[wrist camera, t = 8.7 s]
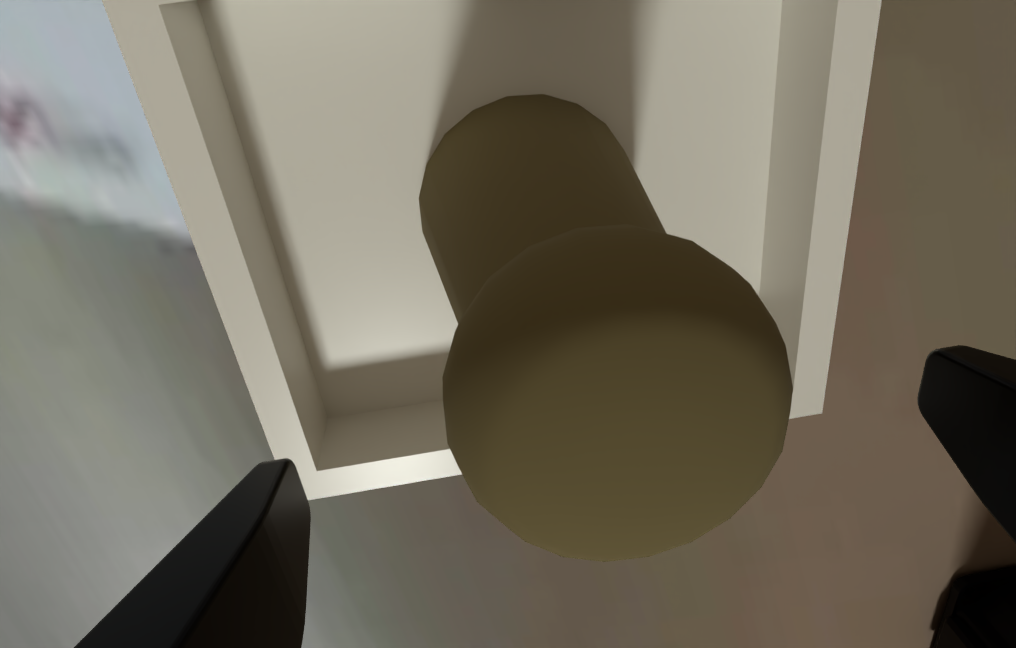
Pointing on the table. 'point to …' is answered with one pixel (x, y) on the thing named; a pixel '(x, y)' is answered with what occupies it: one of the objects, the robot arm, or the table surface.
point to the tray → (413, 139)
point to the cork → (592, 342)
